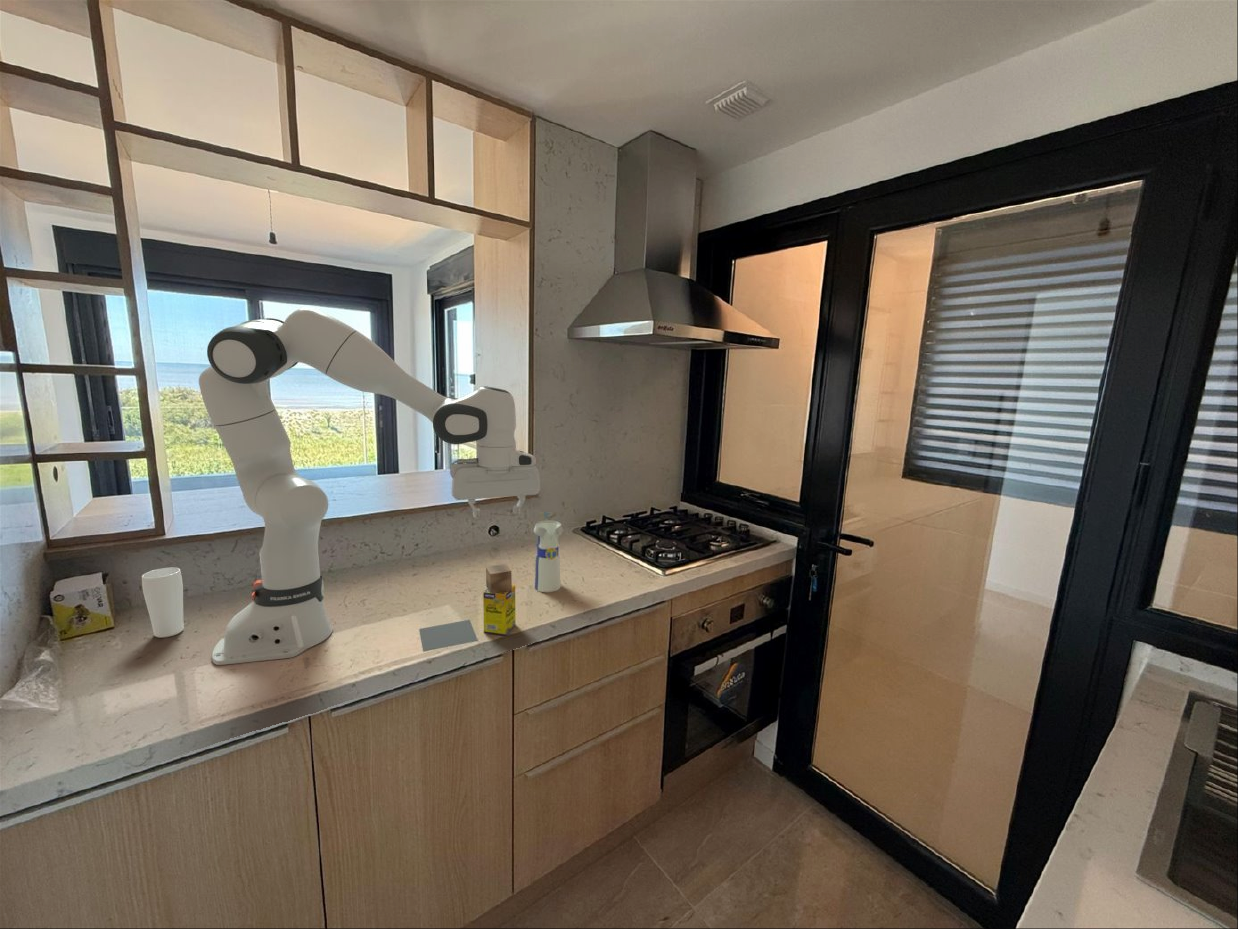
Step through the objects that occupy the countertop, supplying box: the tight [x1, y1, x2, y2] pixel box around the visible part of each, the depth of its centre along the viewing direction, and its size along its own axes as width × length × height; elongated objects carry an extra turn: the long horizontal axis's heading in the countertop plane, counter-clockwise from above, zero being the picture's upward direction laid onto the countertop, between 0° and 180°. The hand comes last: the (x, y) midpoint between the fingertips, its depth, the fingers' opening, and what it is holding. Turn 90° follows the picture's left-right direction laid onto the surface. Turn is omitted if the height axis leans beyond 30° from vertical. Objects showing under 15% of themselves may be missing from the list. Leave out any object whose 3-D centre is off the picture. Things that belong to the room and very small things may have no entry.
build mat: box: [418, 619, 479, 652], centre depth 119 cm, size 12×11×1 cm
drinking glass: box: [141, 566, 185, 639], centre depth 116 cm, size 7×7×15 cm
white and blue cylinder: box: [533, 509, 564, 593], centre depth 146 cm, size 8×9×25 cm
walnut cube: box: [485, 563, 513, 594], centre depth 120 cm, size 5×5×5 cm
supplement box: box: [482, 584, 516, 637], centre depth 121 cm, size 6×6×11 cm
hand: (497, 515), depth 118 cm, fingers open, 8 cm apart
